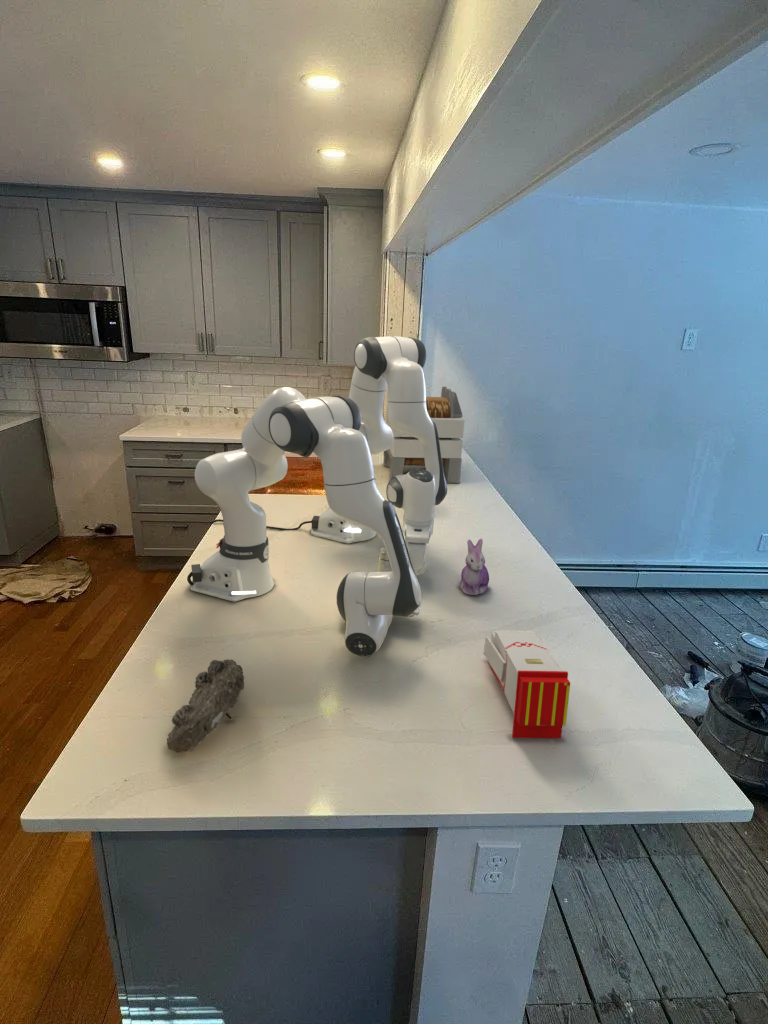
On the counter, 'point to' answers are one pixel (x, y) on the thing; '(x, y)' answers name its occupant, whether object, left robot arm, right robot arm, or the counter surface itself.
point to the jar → (384, 561)
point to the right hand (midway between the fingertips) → (415, 570)
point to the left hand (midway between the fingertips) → (387, 585)
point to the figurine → (474, 571)
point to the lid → (422, 569)
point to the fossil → (206, 705)
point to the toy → (529, 683)
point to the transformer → (449, 432)
